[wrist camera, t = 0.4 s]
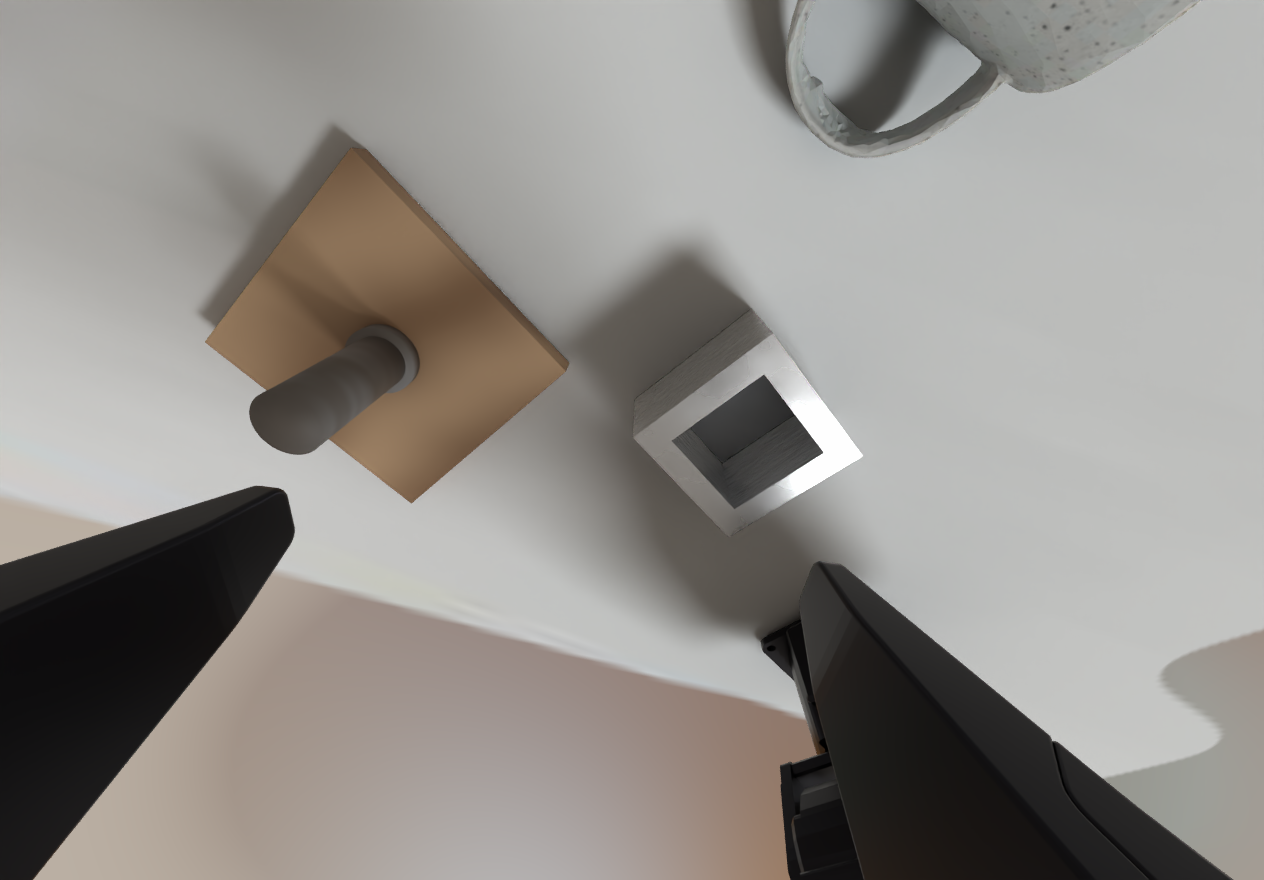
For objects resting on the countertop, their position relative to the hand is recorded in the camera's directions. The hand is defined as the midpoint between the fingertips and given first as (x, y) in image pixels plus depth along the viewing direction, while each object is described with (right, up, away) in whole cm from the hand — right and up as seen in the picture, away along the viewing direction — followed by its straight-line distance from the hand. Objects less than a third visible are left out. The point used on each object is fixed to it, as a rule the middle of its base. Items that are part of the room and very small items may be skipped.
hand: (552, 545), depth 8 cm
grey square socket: (+6, +3, +13) cm, 14 cm away
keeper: (-8, +6, +12) cm, 15 cm away
